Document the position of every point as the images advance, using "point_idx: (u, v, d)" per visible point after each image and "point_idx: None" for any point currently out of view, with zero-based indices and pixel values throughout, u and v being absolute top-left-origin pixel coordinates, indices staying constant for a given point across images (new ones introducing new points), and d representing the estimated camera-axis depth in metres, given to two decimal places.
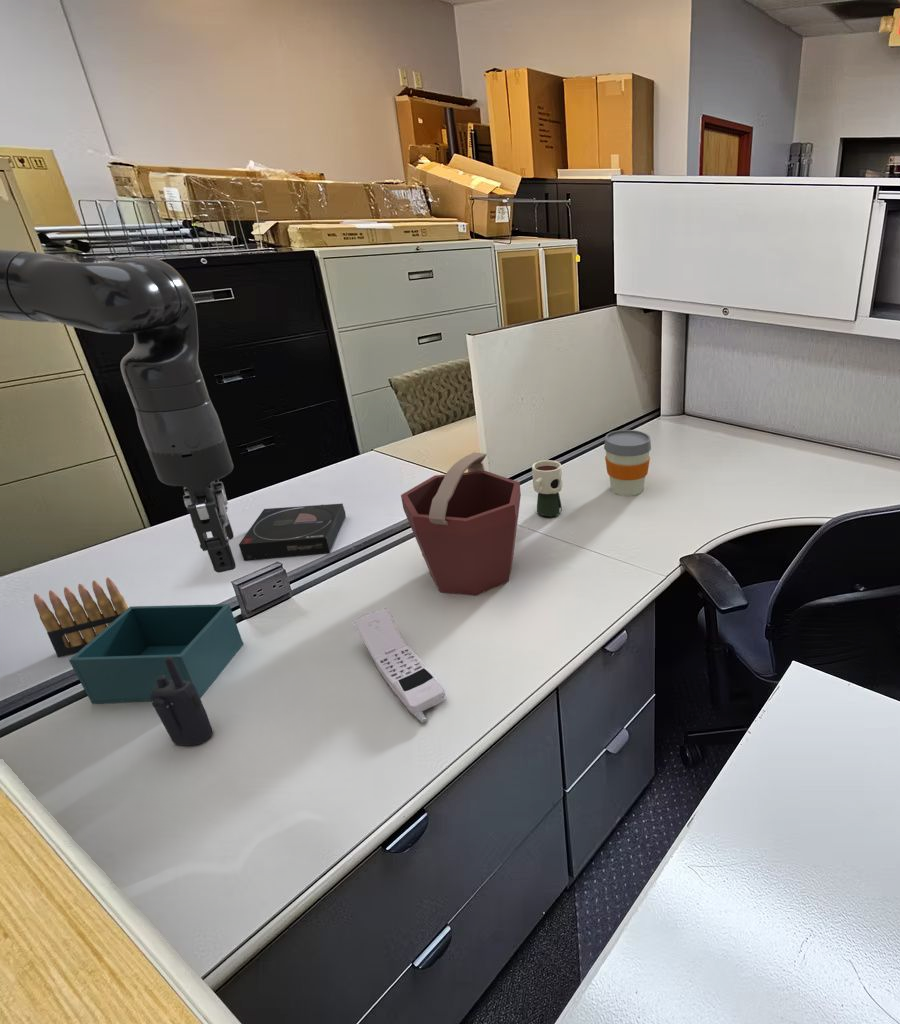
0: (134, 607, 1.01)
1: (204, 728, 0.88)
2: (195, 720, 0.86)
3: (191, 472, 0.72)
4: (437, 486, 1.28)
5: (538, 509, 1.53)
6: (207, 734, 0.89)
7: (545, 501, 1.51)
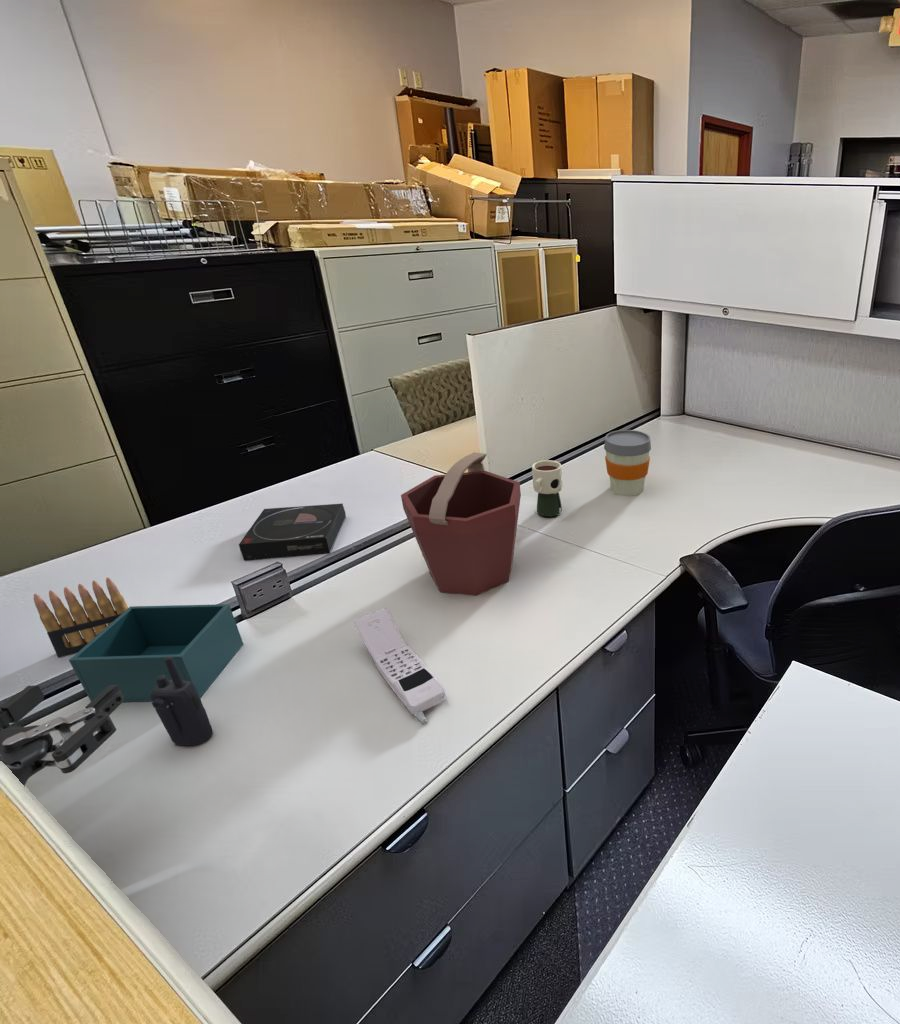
0: (134, 607, 1.01)
1: (204, 728, 0.88)
2: (195, 720, 0.86)
3: None
4: (437, 486, 1.28)
5: (538, 509, 1.53)
6: (207, 734, 0.89)
7: (545, 501, 1.51)
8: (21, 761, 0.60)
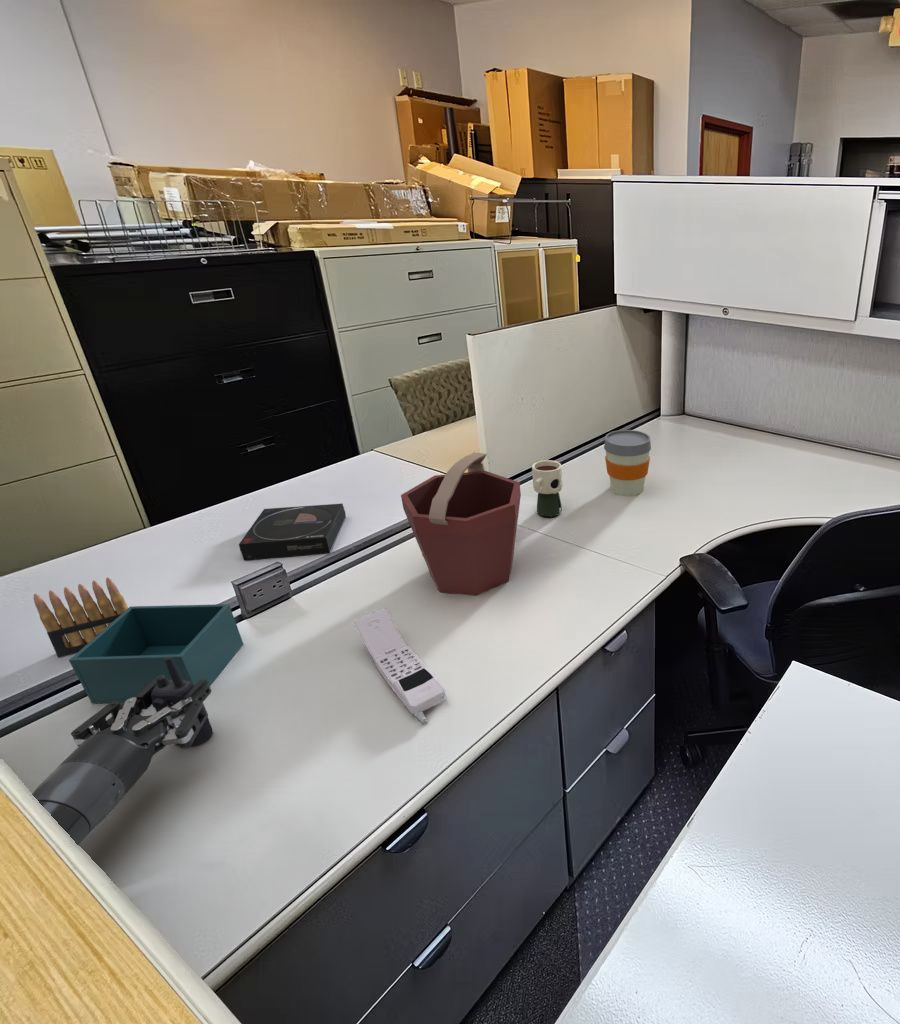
0: (134, 607, 1.01)
1: (204, 728, 0.88)
2: None
3: None
4: (437, 486, 1.28)
5: (538, 509, 1.53)
6: (207, 734, 0.89)
7: (545, 501, 1.51)
8: (148, 742, 0.77)
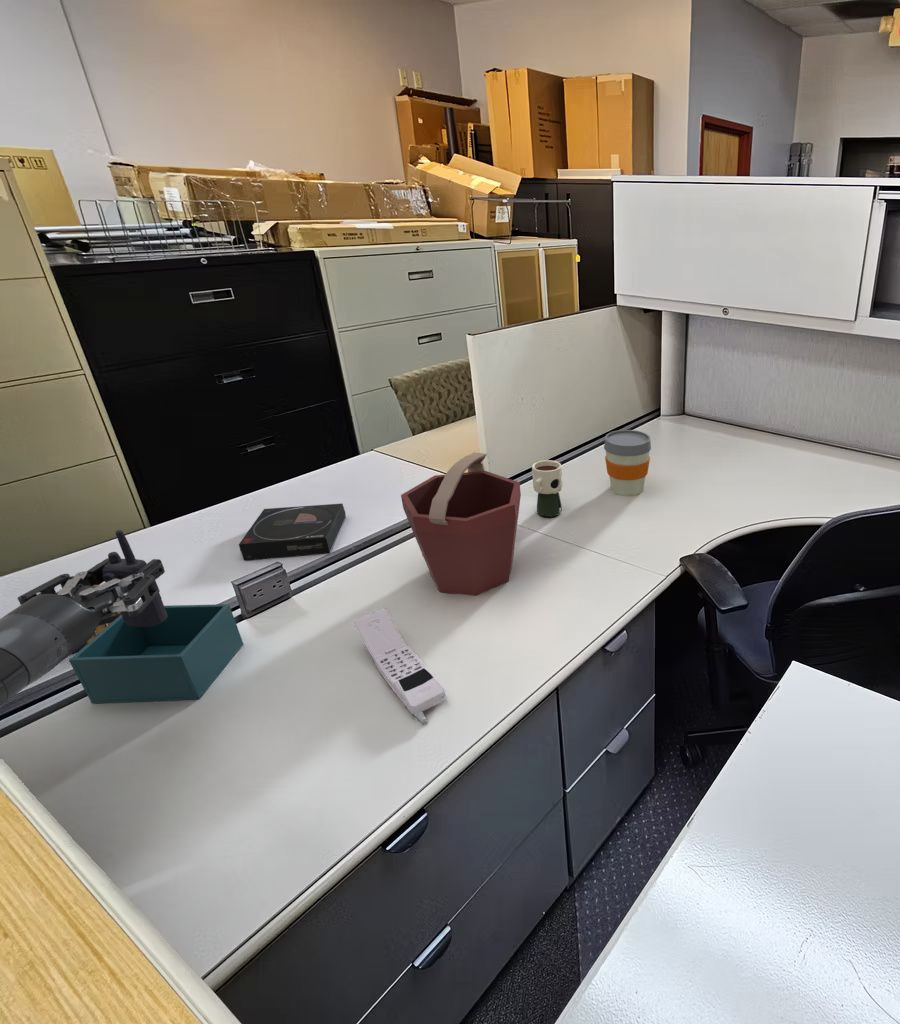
0: None
1: (157, 610, 0.87)
2: None
3: None
4: (437, 486, 1.28)
5: (538, 509, 1.53)
6: (161, 617, 0.88)
7: (545, 501, 1.51)
8: (94, 607, 0.76)
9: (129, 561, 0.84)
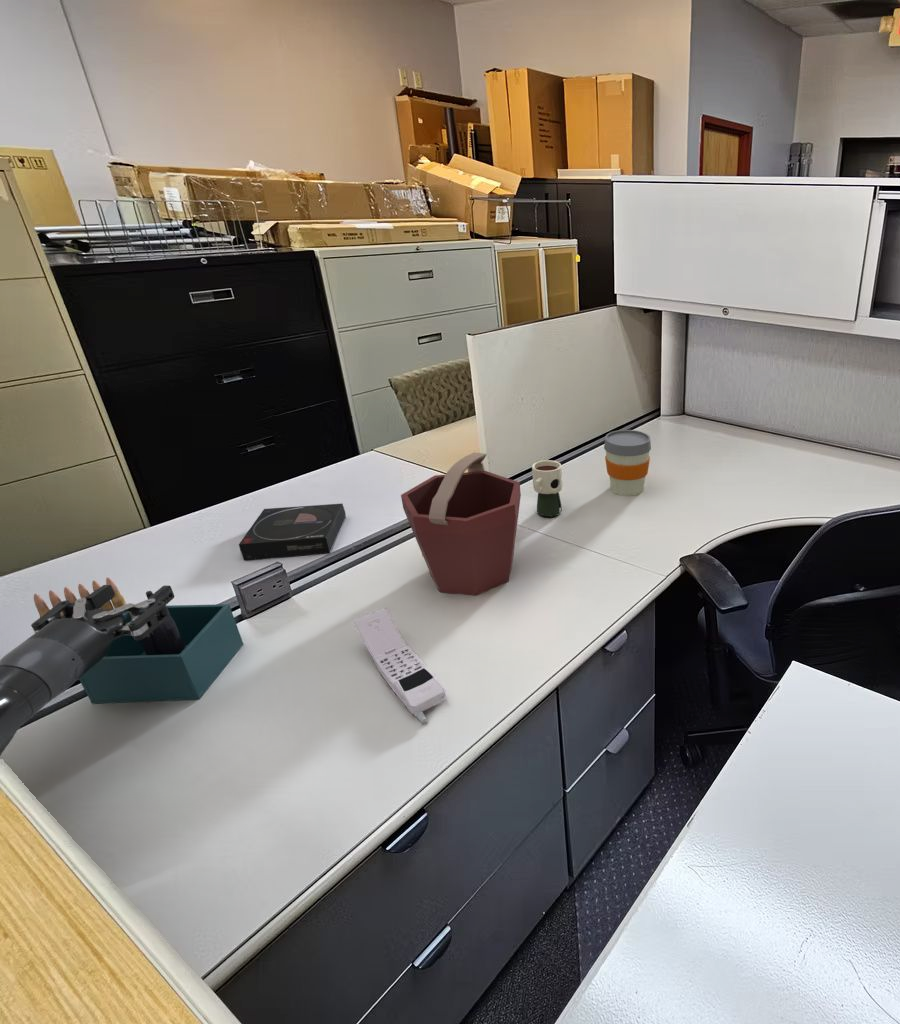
0: None
1: None
2: (173, 649, 0.98)
3: None
4: (437, 486, 1.28)
5: (538, 509, 1.53)
6: None
7: (545, 501, 1.51)
8: (107, 629, 0.84)
9: None
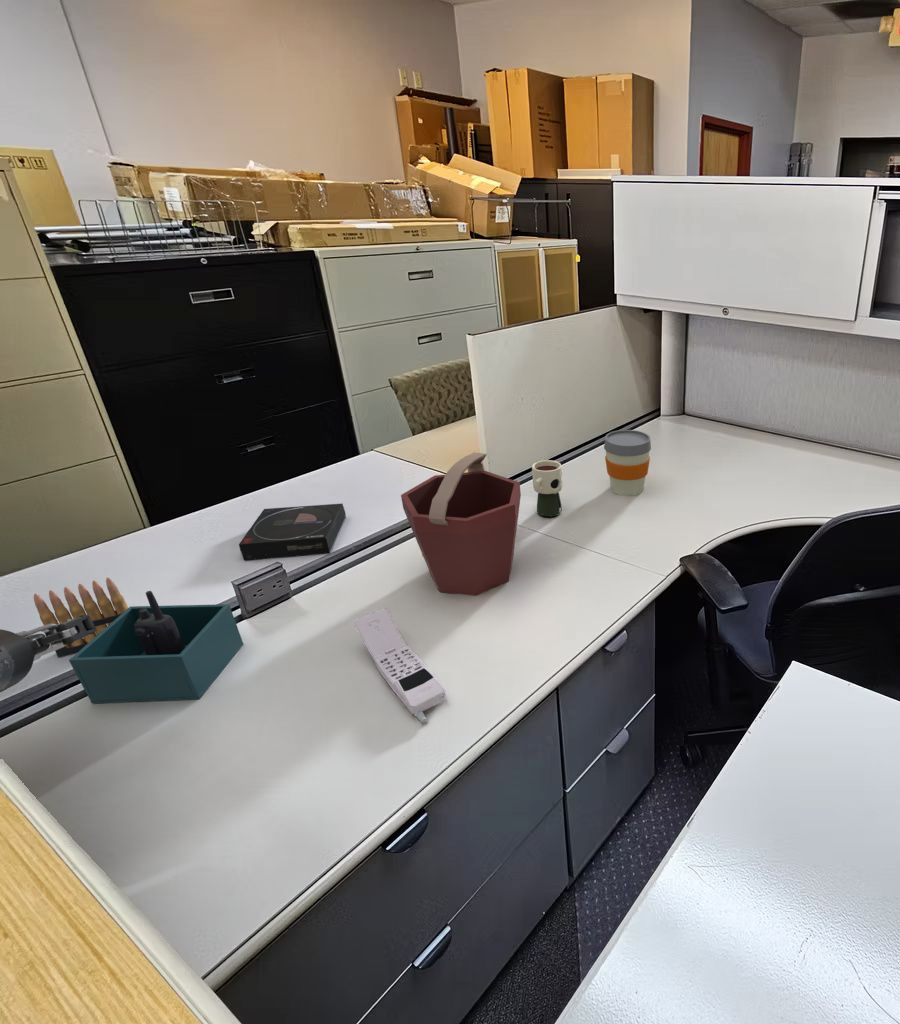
0: (134, 607, 1.01)
1: None
2: (173, 649, 0.98)
3: None
4: (437, 486, 1.28)
5: (538, 509, 1.53)
6: None
7: (545, 501, 1.51)
8: (28, 637, 0.75)
9: (157, 617, 0.96)
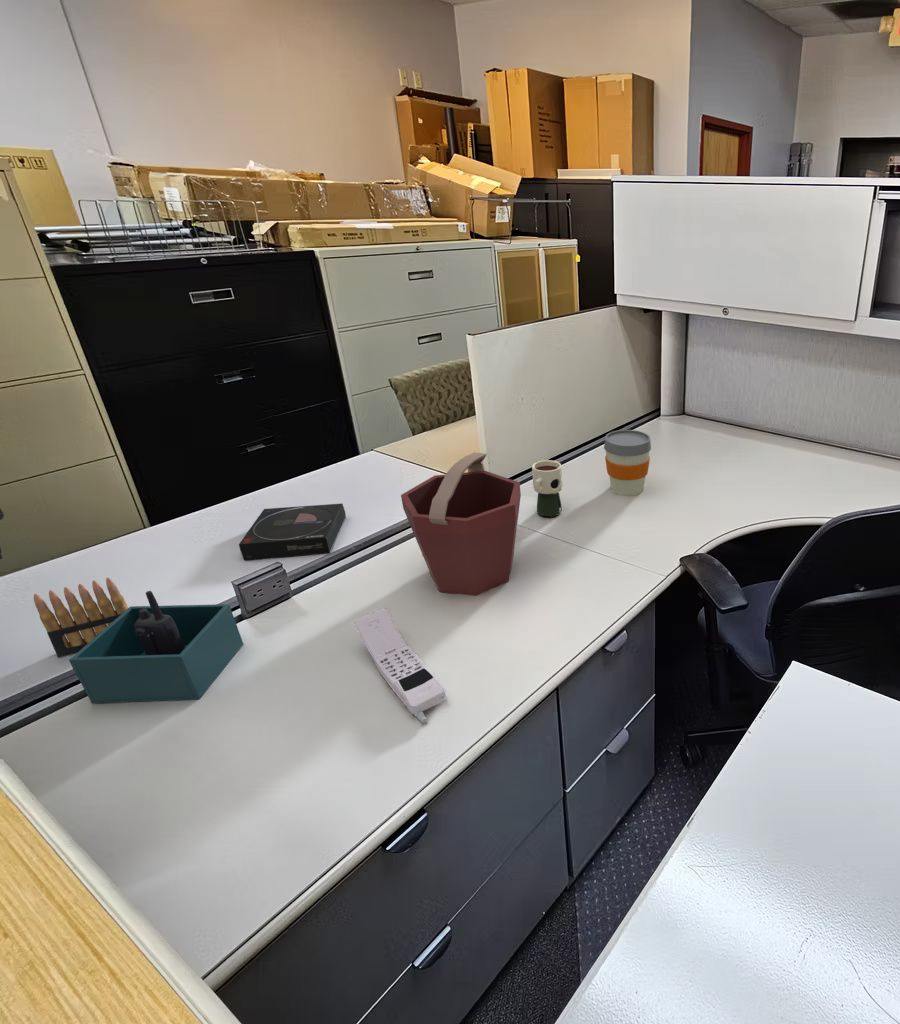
0: (134, 607, 1.01)
1: None
2: (173, 649, 0.98)
3: None
4: (437, 486, 1.28)
5: (538, 509, 1.53)
6: None
7: (545, 501, 1.51)
8: None
9: (157, 617, 0.96)
